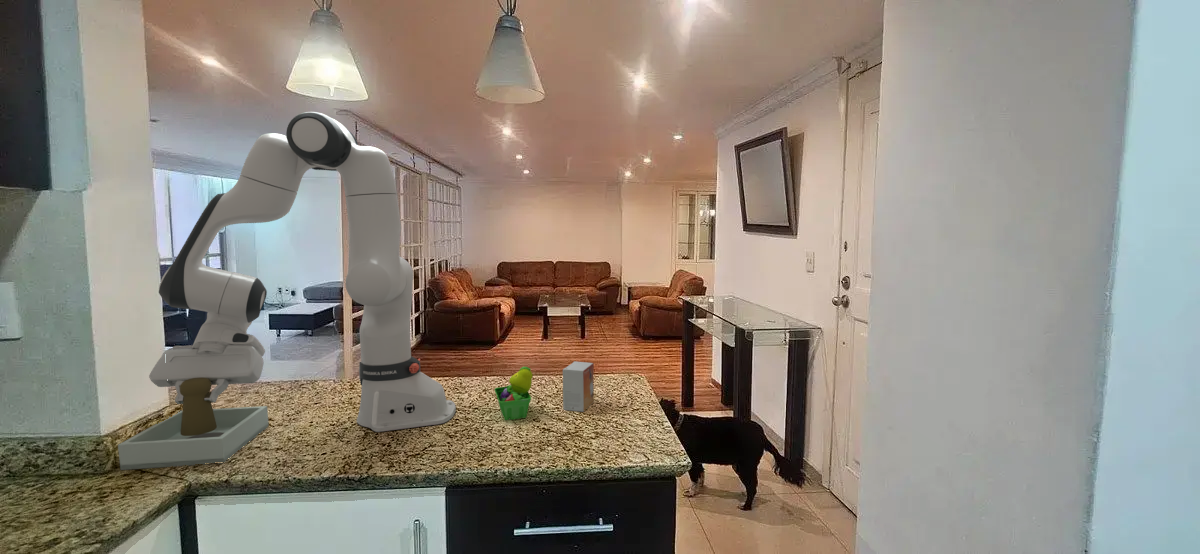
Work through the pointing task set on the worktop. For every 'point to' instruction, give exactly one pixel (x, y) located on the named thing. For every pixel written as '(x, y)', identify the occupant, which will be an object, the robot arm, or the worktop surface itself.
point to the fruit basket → (515, 395)
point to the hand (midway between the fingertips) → (195, 402)
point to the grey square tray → (193, 440)
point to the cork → (196, 407)
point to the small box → (578, 386)
